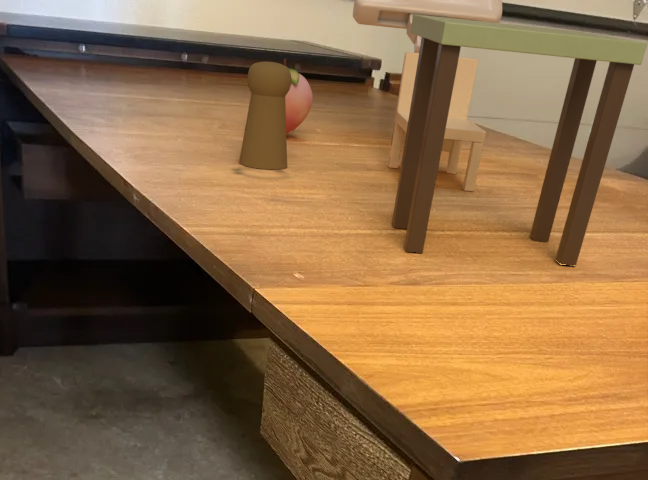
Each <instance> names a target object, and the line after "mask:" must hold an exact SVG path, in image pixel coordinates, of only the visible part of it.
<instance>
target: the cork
mask: <svg viewBox="0 0 648 480" xmlns="http://www.w3.org/2000/svg"><path fill="white" fill-rule="evenodd" d="M289 69H290V68H289V67H287V65H286V66H284V64H282V63H278V62H275V61H257V62H254V63H253V64H251V65H250V67H249V69H248V73H247V87H248V89H249V91H250V97H249V103H248V109H247V114H246V115H247V116H246V119H245V121H246V122H245V126H244V133H243V138H242V143H241V149H240V154H239V159H238V163H239V164H240V165H242V166H245V167H248V168H253V169H260V170H262V169H263V170H284V169H287V168H288V148H287V147H288V144H287V143H288V142H287V134H286V105H285V96H286V95H287V93H288V92H289V90H290V87H291V80H292V79H291V73H290V71H289Z"/></svg>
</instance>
